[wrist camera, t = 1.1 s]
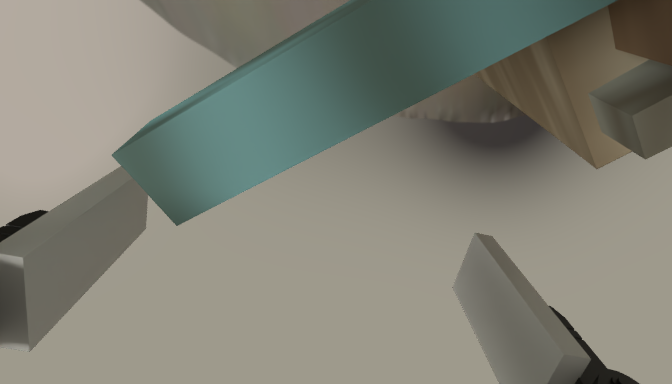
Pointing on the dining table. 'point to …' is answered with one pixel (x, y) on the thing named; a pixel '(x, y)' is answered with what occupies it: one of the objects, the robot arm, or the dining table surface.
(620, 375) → the robot arm
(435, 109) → the dining table surface
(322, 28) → the teal and brown block
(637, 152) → the wooden board
